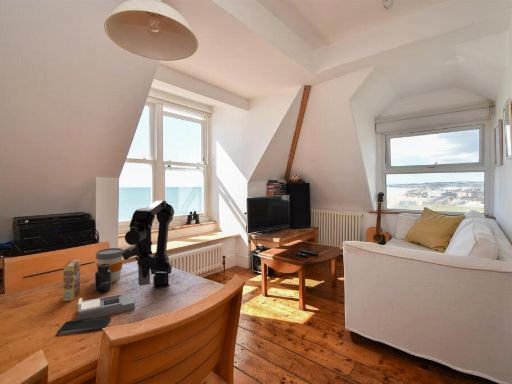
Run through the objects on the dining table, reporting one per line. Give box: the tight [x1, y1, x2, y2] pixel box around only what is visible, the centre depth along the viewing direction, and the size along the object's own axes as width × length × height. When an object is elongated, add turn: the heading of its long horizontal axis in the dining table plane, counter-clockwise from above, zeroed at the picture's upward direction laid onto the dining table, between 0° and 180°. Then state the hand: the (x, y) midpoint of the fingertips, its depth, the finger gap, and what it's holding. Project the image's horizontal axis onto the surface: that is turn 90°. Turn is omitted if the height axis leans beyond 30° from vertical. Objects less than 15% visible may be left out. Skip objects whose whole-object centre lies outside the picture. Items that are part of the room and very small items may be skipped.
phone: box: [56, 316, 112, 336], centre depth 91 cm, size 8×1×15 cm
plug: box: [137, 265, 151, 287], centre depth 107 cm, size 4×4×9 cm
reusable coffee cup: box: [95, 247, 124, 283], centre depth 134 cm, size 13×13×15 cm
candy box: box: [62, 259, 81, 302], centre depth 114 cm, size 9×4×15 cm, turn 20°
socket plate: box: [77, 292, 136, 320], centre depth 104 cm, size 19×11×3 cm, turn 121°
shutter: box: [77, 297, 100, 312], centre depth 100 cm, size 7×7×3 cm
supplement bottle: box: [94, 264, 113, 294], centre depth 121 cm, size 7×7×12 cm
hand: (144, 276), depth 107 cm, fingers closed on plug, 4 cm apart
